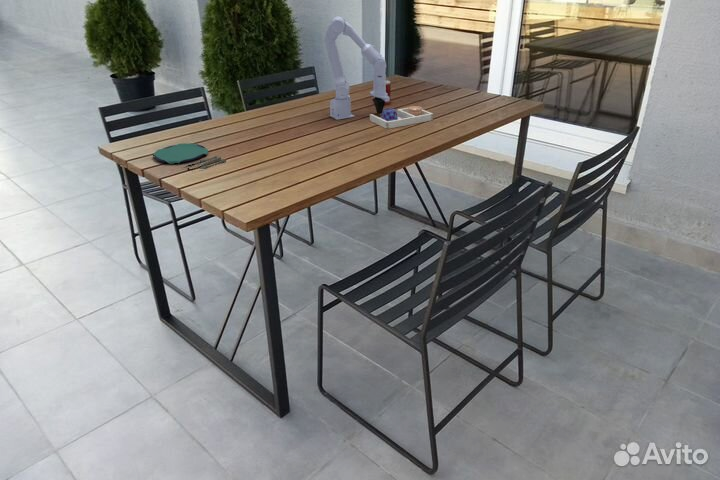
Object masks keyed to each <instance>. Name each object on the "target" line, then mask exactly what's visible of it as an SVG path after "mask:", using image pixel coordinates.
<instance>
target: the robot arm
mask: <svg viewBox="0 0 720 480" xmlns="http://www.w3.org/2000/svg"><path fill="white" fill-rule="evenodd" d="M341 34H342V35H343V36H346V37H347V36H348V37H349V38H350V39H351V40H352V41H353V42H354V43H355V44H356V45H357V46H358V47H359V48H360V49H361V50H360V53H361V54H360V55H362V56H363V57H364V58H365V59H366V60H367V61H368V63H369V64H371V65H372V66H373V85H372V86H373V90H371V91H369V96H371V97H372V96H373V97H374V98H372V99H371V100H372V102H373V104H374V107H375V110H376V114H377V115H382V113H383V110H384V108H385V106H386V105H385V103H386V102H388V101H390V102H391V96H390V97H388V96H387V95H388V93H386V78H387V74H386V72H387V71H386V69H387V62H386V59H385V58H384V57H383V55H382V54H381V53H379V52H378V50H376V46H375V45H374V44H371V43H366V41H364V39H363V38H362V37H361V36H360V34H359V33H358V32H357V31H356V30H355V28H354V27H353V26H352V25H351V24H350V22H348V21H345V18H344V17H343V16H339V15H337V16H334V17H333V18H332V20H331V21H330V22H329V24H328V26H327V30H326V33H325V36H324V44H325V48H326V51H327V52H326V53H327V55H328V59H329V63H330V66H331V71H332V74H333V78H334V84H335V97H334V98H333V99H331V100H329V109H330V110H329V111H330V112H329V114H330V115H329V117H330V118H332V119H335V120H337V121H338V120H343V119H349V118H355V115H354V114H352V105H351V102H352V100H351V95H350V84H349V83H348V82H347V79H346V77H345V74H344V71H343V66H342V62H341V58H340V55H339V51H338V47H337V43H336V40H337V39H338V37H339V35H341Z"/></svg>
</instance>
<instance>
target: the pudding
mask: <svg viewBox="0 0 720 480" xmlns="http://www.w3.org/2000/svg"><path fill="white" fill-rule="evenodd" d="M378 117H379V118H381V119H384V120H386V121H393V120H398V119H403V118H401V117H399V116H397V109H395V108H385V109H384V108H383V112H382V114H381V116H378Z"/></svg>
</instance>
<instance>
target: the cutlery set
mask: <svg viewBox="0 0 720 480" xmlns="http://www.w3.org/2000/svg"><path fill="white" fill-rule="evenodd" d="M208 154H209V149H208V148H206V146H204V145H201V144H197V143H193V142H192V143H191V142H187V143H186V142H185V143H184V142H182V143H177V144H173V145H170V146H169V145H168V146H166V147H163V148H159V149H156V151H154V153H153V154H152V156H153V157H154V156H155V157H154V158H155V159H156V161H160V162H162V163H168V164H169V165H175V164H174V163H178V164H180V163H185V162H190V161H195V160H197V159H199V158H201V157H203V156H204V155H208ZM208 160H209V161H208ZM219 160H220V161H219ZM216 161H218V162H216ZM200 162H202V163H200ZM213 162H215V163H213ZM196 163H198V165H202V166H201V167H200V168H198V169H205V170H206V169H208V168H211V166H212V167H215V166H218V165H221V164H223V163H227V159H222V157H221V156H219V157H217V155H214V156H212V157H209V158H207V159H206V158H204V159H201V160H199V161H196V162H193V163H190V164H188V165H192V164H195V165H197V164H196ZM209 163H212V164H209ZM220 163H221V164H220ZM208 164H209V165H208ZM217 164H218V165H217ZM214 165H215V166H214ZM192 166H194V165H192Z"/></svg>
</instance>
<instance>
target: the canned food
mask: <svg viewBox="0 0 720 480" xmlns="http://www.w3.org/2000/svg"><path fill="white" fill-rule="evenodd" d="M386 93H388V95H387V96H388V97H390V98H391V81H390V80H388V79H387V80H386ZM390 104H391V100H390V101H388V102H386V103H385V105H384V106H387V105H388V106H389V105H390Z"/></svg>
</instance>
